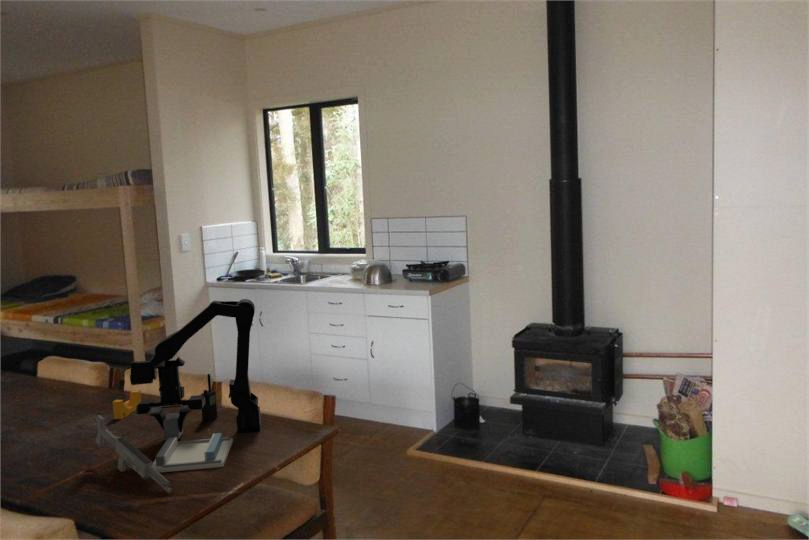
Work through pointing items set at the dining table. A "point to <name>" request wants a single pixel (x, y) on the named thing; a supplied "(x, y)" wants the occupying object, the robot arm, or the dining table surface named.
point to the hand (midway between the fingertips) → (173, 432)
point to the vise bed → (189, 455)
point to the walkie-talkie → (209, 404)
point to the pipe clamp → (126, 405)
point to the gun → (130, 455)
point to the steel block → (172, 426)
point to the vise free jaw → (213, 446)
